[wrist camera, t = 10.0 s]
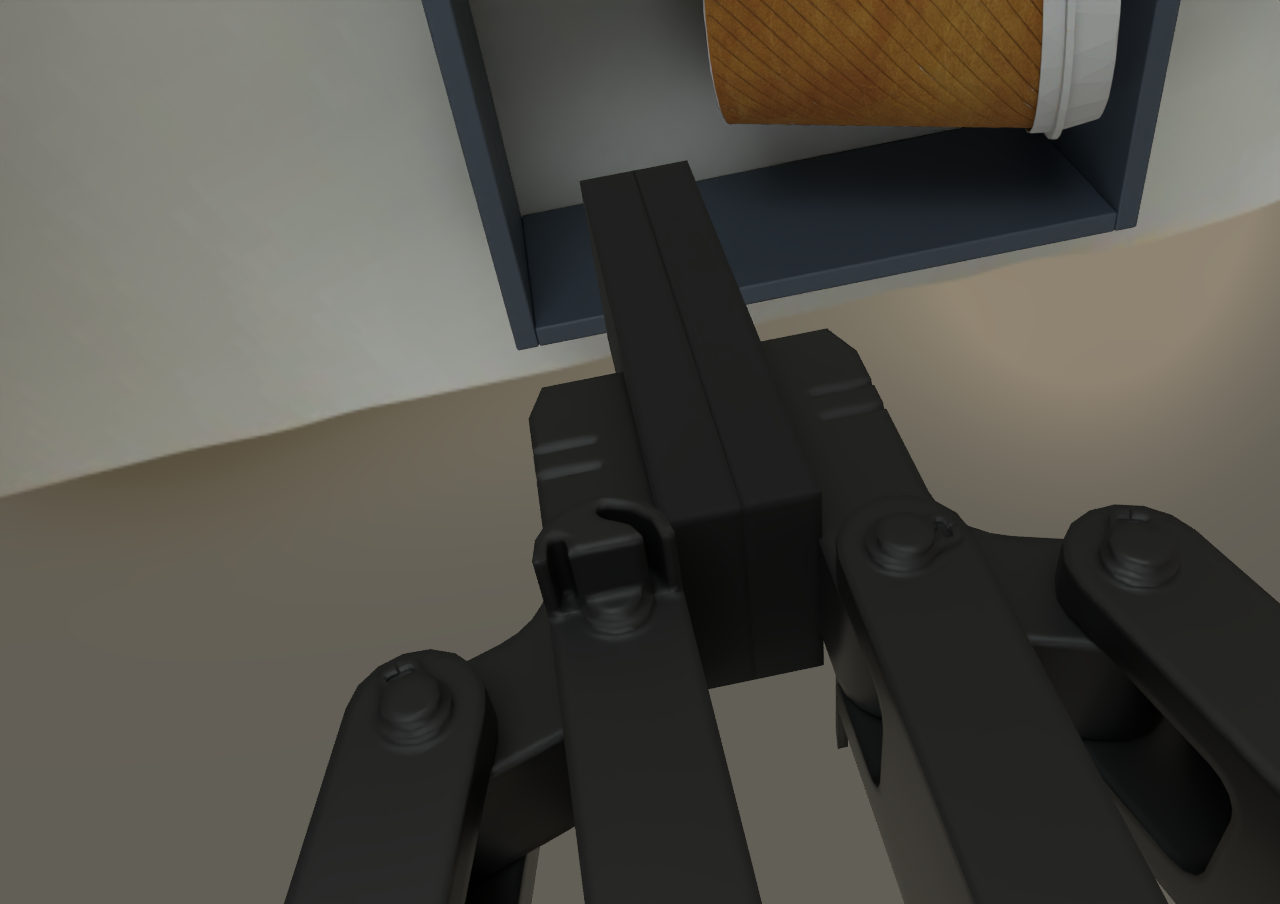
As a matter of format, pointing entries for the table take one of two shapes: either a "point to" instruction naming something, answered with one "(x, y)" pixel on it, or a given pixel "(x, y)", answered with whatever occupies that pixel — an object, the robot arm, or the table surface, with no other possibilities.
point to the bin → (831, 192)
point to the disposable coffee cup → (913, 62)
